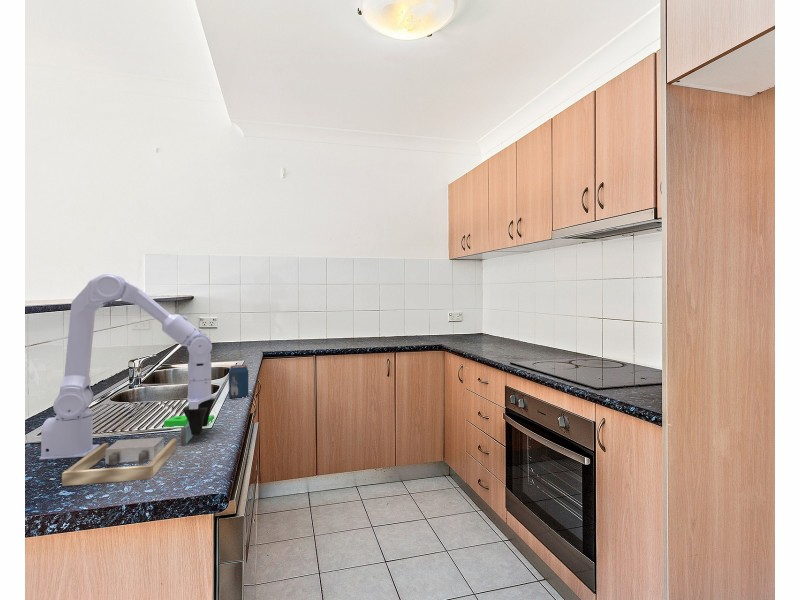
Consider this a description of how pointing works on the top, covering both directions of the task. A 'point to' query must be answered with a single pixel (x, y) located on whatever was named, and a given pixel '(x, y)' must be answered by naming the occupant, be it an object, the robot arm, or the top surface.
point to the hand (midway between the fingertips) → (199, 430)
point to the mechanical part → (180, 420)
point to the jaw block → (134, 449)
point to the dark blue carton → (238, 381)
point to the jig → (84, 476)
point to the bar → (188, 432)
